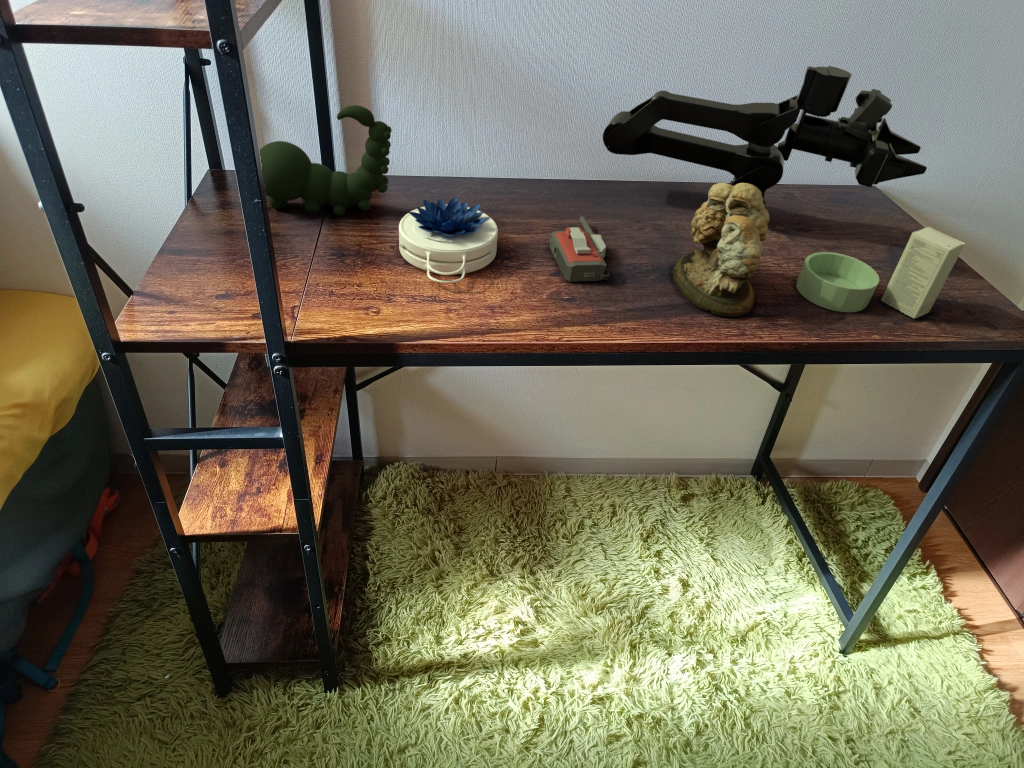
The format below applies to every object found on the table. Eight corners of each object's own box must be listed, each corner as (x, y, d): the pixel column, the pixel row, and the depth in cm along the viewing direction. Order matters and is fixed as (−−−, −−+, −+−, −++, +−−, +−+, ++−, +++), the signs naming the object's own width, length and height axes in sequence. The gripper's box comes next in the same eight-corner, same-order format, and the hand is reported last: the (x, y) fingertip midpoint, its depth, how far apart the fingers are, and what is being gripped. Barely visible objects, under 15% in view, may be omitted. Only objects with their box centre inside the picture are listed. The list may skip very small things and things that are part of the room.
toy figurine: (387, 207, 125) (242, 189, 121) (394, 100, 113) (233, 77, 109) (384, 232, 118) (230, 214, 114) (390, 121, 106) (219, 97, 102)
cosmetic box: (929, 313, 109) (968, 244, 101) (913, 320, 107) (951, 250, 99) (894, 293, 113) (928, 225, 105) (877, 300, 111) (912, 231, 103)
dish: (796, 302, 108) (806, 279, 105) (795, 268, 117) (804, 246, 114) (871, 319, 106) (883, 295, 103) (865, 283, 115) (875, 261, 112)
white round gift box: (404, 185, 113) (388, 245, 98) (499, 192, 114) (498, 252, 99) (405, 224, 118) (390, 287, 102) (496, 230, 118) (495, 293, 103)
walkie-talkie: (620, 285, 108) (586, 224, 123) (625, 260, 105) (590, 201, 120) (566, 287, 106) (538, 225, 121) (569, 261, 103) (540, 201, 118)
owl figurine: (655, 258, 115) (679, 158, 104) (720, 256, 118) (750, 158, 107) (697, 320, 102) (730, 213, 91) (770, 316, 104) (810, 212, 93)
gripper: (847, 106, 104) (956, 130, 102) (844, 73, 118) (940, 93, 115) (818, 176, 112) (919, 200, 109) (818, 137, 125) (908, 157, 123)
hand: (922, 159), depth 114 cm, fingers open, 9 cm apart
